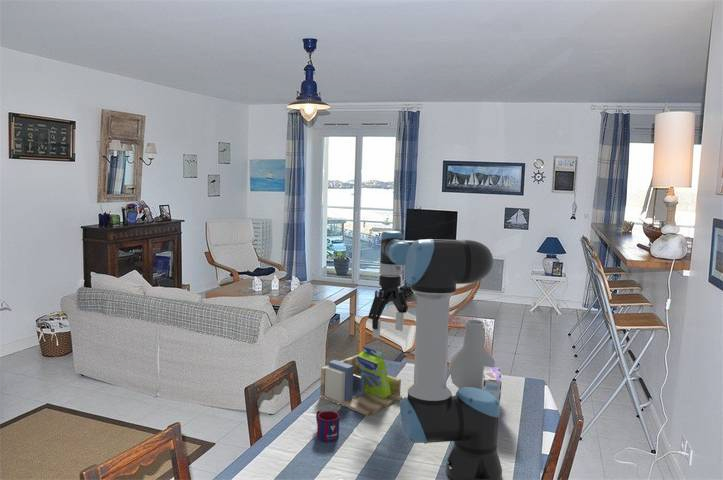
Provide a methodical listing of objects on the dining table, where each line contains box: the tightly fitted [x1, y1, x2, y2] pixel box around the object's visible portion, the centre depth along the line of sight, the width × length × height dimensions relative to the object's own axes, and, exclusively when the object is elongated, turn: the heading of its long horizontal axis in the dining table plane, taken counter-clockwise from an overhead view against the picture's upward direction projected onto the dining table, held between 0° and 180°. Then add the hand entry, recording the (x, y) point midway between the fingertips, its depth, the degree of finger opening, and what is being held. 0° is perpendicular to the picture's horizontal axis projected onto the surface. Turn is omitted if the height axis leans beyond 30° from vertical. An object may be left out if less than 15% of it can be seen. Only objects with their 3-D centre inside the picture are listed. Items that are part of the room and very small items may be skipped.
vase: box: [448, 319, 496, 390], centre depth 206 cm, size 17×16×28 cm
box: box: [356, 345, 391, 399], centre depth 200 cm, size 10×4×17 cm, turn 45°
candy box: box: [482, 366, 503, 404], centre depth 186 cm, size 14×6×16 cm, turn 168°
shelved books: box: [325, 359, 353, 402], centre depth 198 cm, size 5×9×12 cm, turn 50°
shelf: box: [320, 354, 403, 417], centre depth 201 cm, size 20×22×11 cm
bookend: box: [352, 374, 366, 399], centre depth 203 cm, size 6×10×6 cm, turn 50°
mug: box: [315, 410, 340, 442], centre depth 173 cm, size 7×10×7 cm
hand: (387, 333), depth 197 cm, fingers open, 13 cm apart
